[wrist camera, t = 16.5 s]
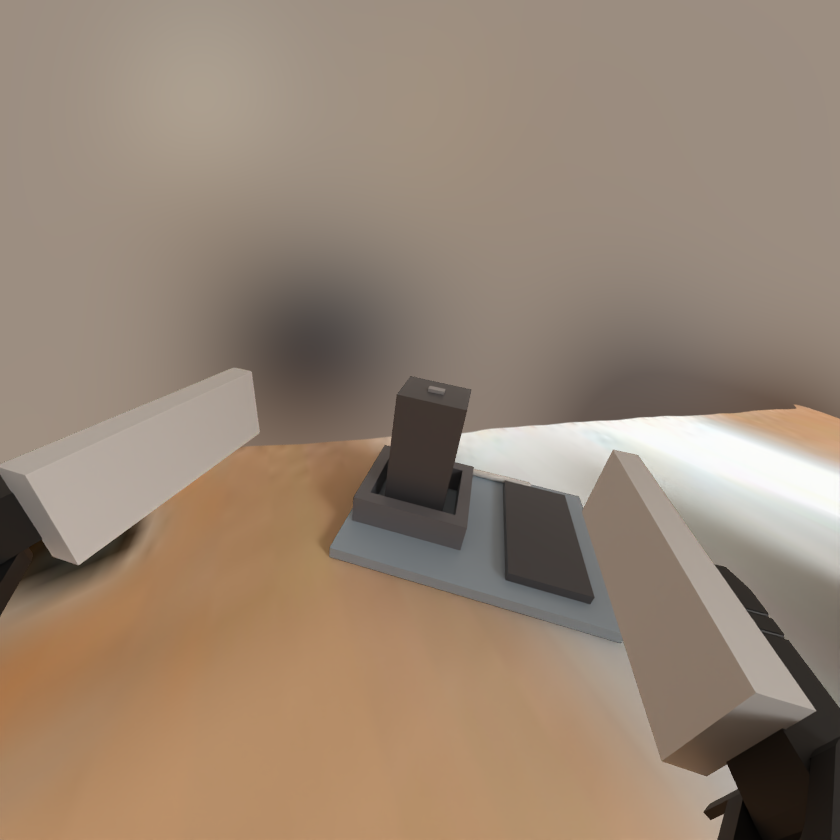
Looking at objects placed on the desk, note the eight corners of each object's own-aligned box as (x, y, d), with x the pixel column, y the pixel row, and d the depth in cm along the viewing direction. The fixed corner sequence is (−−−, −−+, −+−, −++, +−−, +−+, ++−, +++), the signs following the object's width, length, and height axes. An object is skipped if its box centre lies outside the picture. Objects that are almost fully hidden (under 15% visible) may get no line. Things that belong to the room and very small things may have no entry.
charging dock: (575, 503, 34) (588, 477, 32) (620, 643, 21) (645, 612, 20) (385, 456, 36) (389, 429, 34) (329, 556, 24) (329, 523, 22)
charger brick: (445, 494, 30) (472, 386, 25) (439, 525, 27) (467, 407, 22) (395, 481, 31) (411, 373, 26) (382, 509, 27) (397, 391, 22)
